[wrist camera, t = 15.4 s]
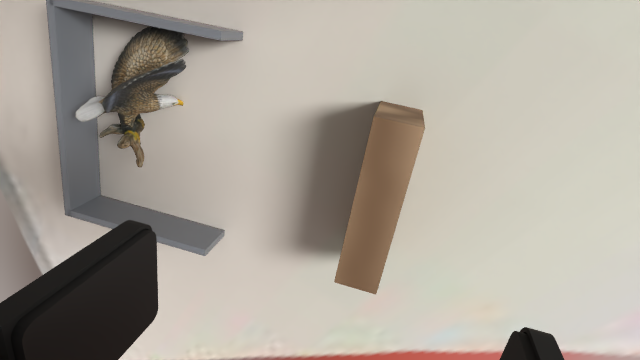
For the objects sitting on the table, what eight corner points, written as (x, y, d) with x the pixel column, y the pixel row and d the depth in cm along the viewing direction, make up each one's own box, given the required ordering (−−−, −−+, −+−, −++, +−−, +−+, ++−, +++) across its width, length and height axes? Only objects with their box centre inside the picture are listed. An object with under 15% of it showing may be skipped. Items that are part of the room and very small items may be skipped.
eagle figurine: (190, 163, 32) (218, 67, 27) (94, 173, 27) (105, 58, 22) (157, 108, 35) (175, 14, 30) (66, 108, 30) (70, -4, 25)
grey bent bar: (243, 31, 28) (221, 31, 25) (224, 236, 35) (204, 256, 32) (84, -1, 30) (45, -5, 27) (95, 199, 37) (65, 214, 34)
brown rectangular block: (422, 110, 27) (424, 127, 22) (382, 250, 32) (376, 294, 27) (381, 100, 28) (373, 116, 22) (347, 240, 32) (334, 282, 27)
